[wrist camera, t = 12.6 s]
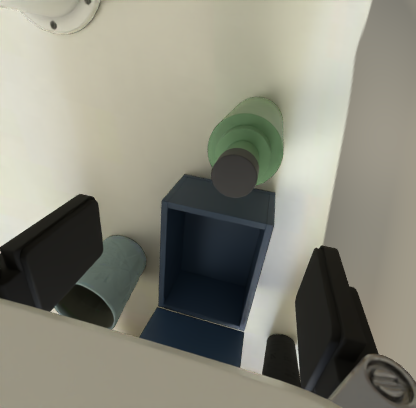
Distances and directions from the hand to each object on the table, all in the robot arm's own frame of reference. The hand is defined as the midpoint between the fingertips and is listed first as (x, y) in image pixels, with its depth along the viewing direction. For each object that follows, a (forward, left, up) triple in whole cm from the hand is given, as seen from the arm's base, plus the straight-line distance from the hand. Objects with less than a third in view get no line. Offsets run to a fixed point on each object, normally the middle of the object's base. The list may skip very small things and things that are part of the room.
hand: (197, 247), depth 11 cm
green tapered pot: (+25, -18, -24) cm, 39 cm away
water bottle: (0, 0, -24) cm, 24 cm away
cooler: (+16, -2, -24) cm, 29 cm away
